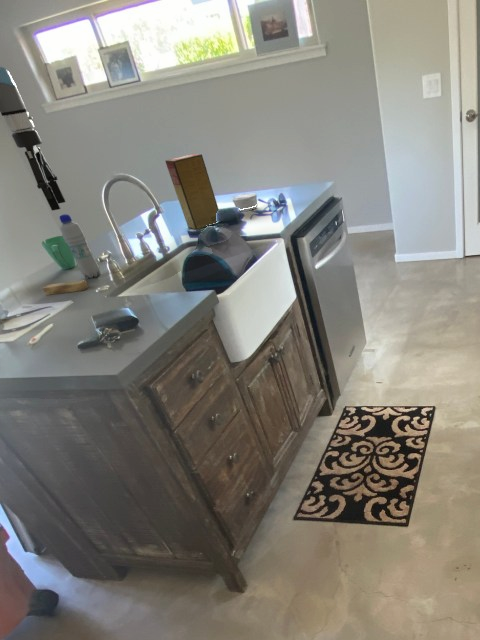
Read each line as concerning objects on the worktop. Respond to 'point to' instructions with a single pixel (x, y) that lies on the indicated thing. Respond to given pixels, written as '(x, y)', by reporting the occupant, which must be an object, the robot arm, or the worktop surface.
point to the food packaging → (193, 190)
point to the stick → (65, 287)
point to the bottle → (79, 247)
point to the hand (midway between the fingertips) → (59, 206)
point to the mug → (59, 252)
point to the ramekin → (245, 201)
